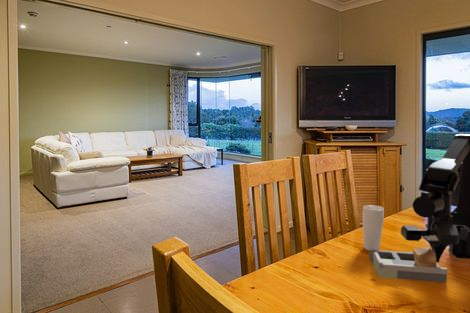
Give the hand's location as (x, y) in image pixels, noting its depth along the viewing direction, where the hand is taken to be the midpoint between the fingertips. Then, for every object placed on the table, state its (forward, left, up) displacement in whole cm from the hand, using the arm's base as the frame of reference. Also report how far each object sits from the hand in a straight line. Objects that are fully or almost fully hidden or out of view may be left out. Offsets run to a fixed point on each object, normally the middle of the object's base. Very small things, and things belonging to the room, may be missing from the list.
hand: (437, 261), depth 98 cm
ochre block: (+3, 0, -1) cm, 3 cm away
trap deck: (+8, -3, -4) cm, 9 cm away
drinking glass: (+15, -17, -5) cm, 23 cm away
